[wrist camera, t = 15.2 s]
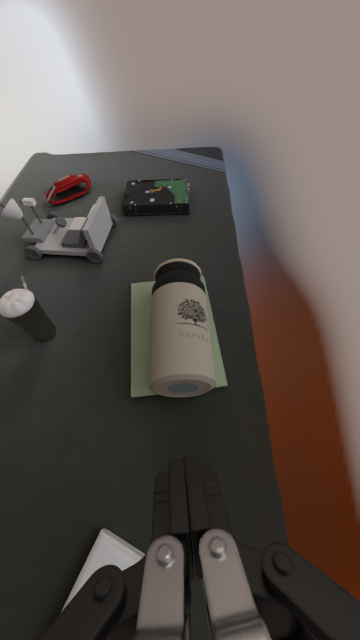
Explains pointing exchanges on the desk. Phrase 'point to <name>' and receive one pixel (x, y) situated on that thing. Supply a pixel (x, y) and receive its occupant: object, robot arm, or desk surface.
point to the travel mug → (180, 332)
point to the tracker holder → (67, 187)
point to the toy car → (65, 231)
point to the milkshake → (27, 313)
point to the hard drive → (106, 558)
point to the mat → (141, 340)
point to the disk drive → (157, 197)
